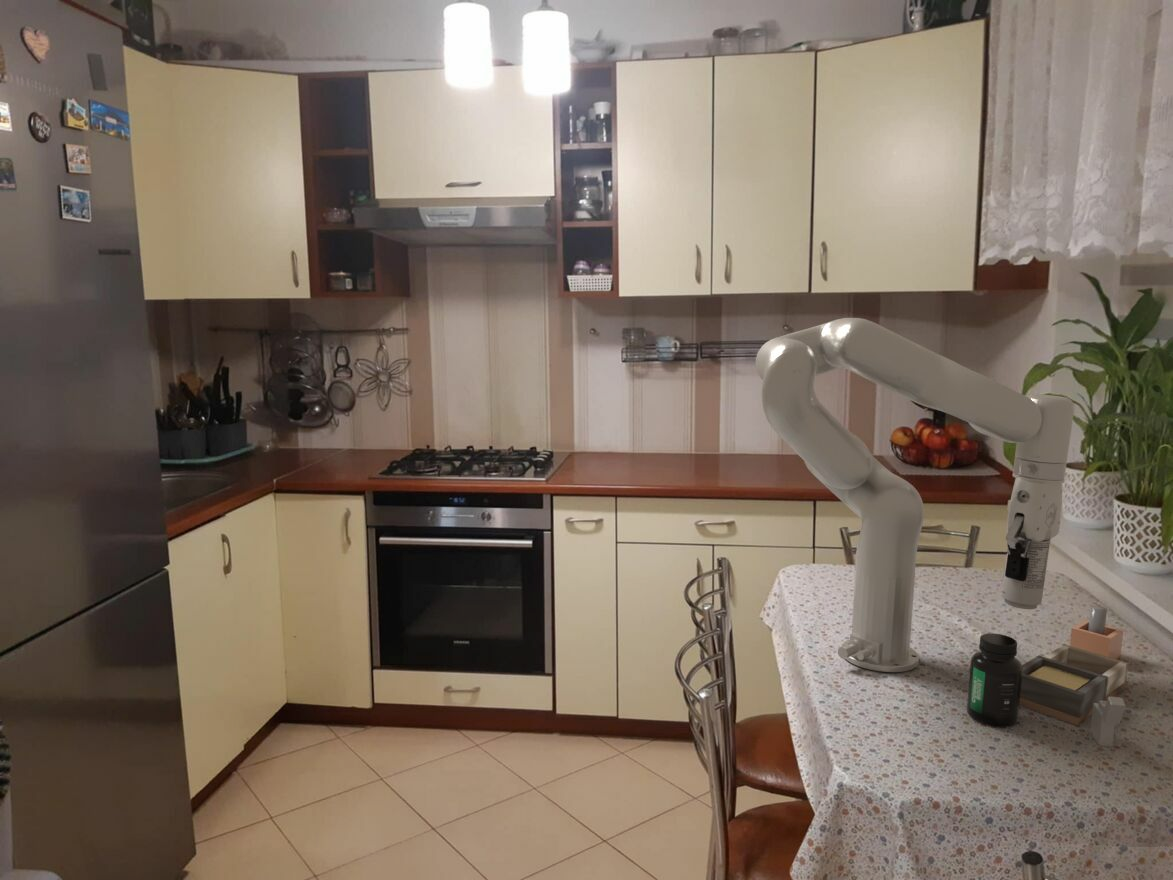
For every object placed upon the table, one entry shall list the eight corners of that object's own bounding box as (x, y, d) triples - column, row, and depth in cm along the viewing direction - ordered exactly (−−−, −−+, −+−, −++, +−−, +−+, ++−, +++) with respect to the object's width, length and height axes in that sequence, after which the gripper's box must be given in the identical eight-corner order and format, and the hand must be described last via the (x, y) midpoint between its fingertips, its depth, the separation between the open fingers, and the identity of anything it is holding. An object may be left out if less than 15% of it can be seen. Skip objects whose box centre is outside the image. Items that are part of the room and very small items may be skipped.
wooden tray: (1077, 725, 121) (1080, 696, 120) (1006, 700, 128) (1009, 672, 128) (1127, 687, 133) (1130, 660, 132) (1060, 666, 141) (1063, 640, 140)
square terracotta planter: (1107, 666, 141) (1112, 618, 139) (1068, 655, 145) (1073, 608, 144) (1120, 657, 145) (1125, 610, 143) (1082, 646, 149) (1087, 600, 148)
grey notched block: (1089, 730, 119) (1095, 677, 118) (1103, 732, 119) (1109, 679, 117) (1105, 756, 112) (1111, 700, 111) (1119, 758, 112) (1126, 701, 111)
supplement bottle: (973, 725, 120) (980, 646, 118) (960, 704, 127) (967, 628, 125) (1024, 730, 119) (1032, 650, 117) (1009, 708, 126) (1016, 632, 124)
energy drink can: (1021, 597, 145) (1033, 512, 143) (1049, 609, 139) (1061, 522, 137) (992, 598, 143) (1004, 513, 141) (1019, 611, 137) (1031, 522, 135)
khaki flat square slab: (1072, 700, 123) (1073, 691, 123) (1025, 685, 128) (1026, 676, 128) (1090, 688, 127) (1090, 679, 127) (1044, 673, 132) (1045, 665, 132)
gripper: (1040, 479, 129) (1024, 591, 132) (1084, 470, 140) (1069, 573, 143) (991, 470, 135) (977, 577, 138) (1037, 462, 146) (1023, 561, 149)
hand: (1024, 574), depth 140 cm, fingers closed on energy drink can, 6 cm apart
